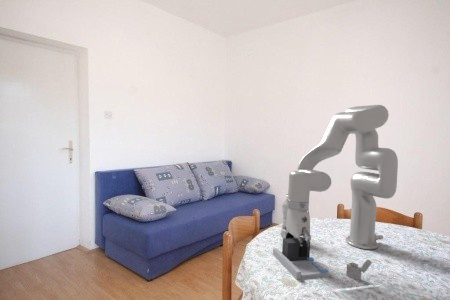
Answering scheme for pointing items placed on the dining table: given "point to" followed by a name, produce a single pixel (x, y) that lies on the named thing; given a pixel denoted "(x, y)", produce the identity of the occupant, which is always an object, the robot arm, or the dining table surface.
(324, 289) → the dining table surface
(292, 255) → the dark gray block
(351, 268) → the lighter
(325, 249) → the dining table surface
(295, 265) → the grey tray
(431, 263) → the dining table surface
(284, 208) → the plastic bottle
